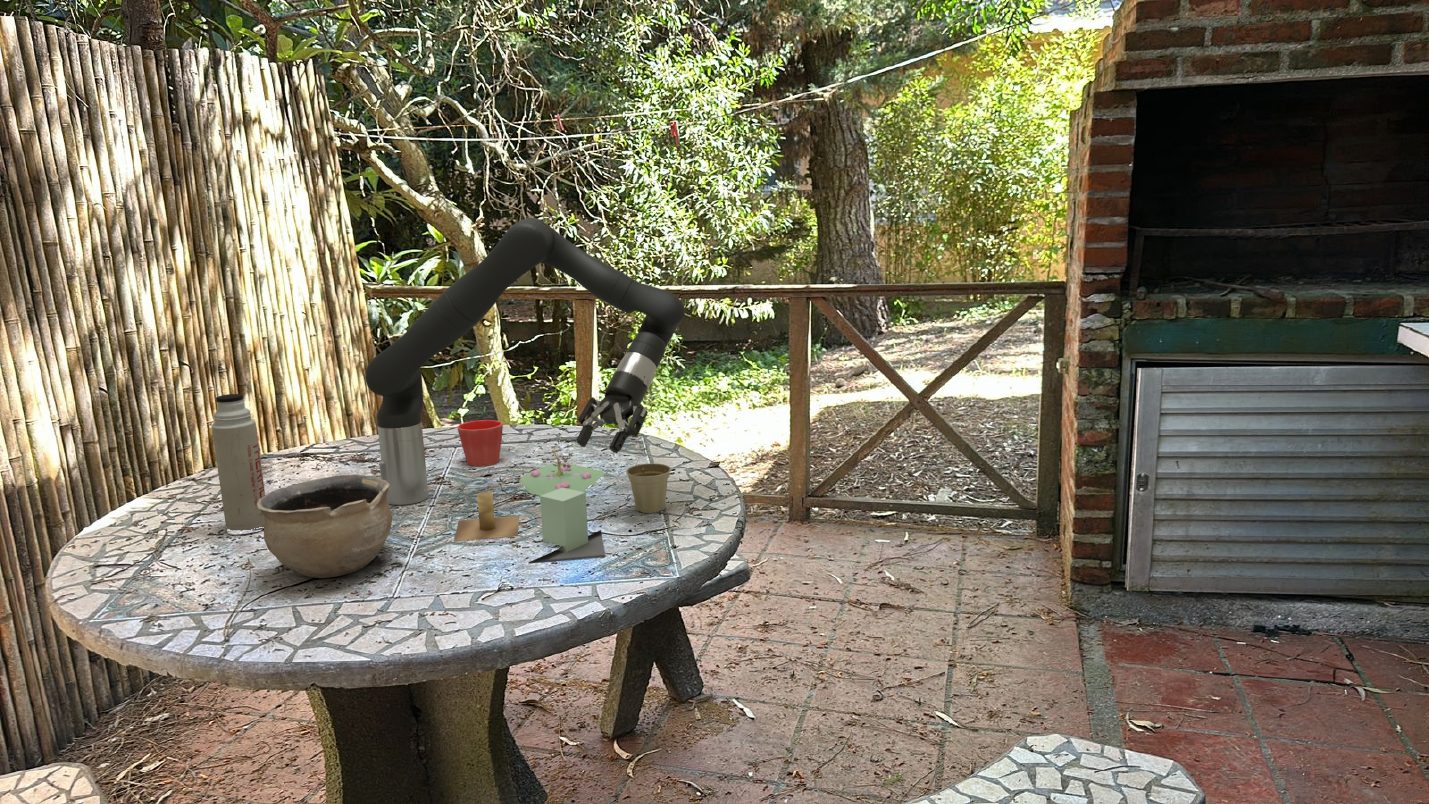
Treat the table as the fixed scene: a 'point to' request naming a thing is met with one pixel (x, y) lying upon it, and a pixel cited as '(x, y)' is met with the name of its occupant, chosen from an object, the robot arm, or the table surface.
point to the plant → (559, 477)
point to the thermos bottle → (238, 463)
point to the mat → (577, 551)
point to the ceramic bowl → (327, 524)
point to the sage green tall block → (564, 518)
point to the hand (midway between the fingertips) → (596, 448)
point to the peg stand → (486, 522)
